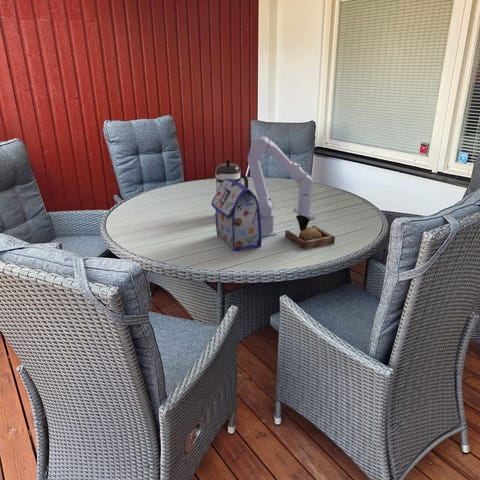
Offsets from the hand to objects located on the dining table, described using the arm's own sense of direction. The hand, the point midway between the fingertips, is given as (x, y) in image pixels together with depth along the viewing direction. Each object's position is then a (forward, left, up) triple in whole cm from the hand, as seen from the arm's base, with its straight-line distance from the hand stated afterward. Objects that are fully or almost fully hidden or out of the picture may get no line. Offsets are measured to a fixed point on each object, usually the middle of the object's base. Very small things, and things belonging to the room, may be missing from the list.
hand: (302, 230), depth 182 cm
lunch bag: (-30, +7, -3) cm, 31 cm away
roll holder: (0, -5, -2) cm, 6 cm away
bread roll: (0, -6, -3) cm, 6 cm away
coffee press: (-19, +40, -3) cm, 44 cm away
